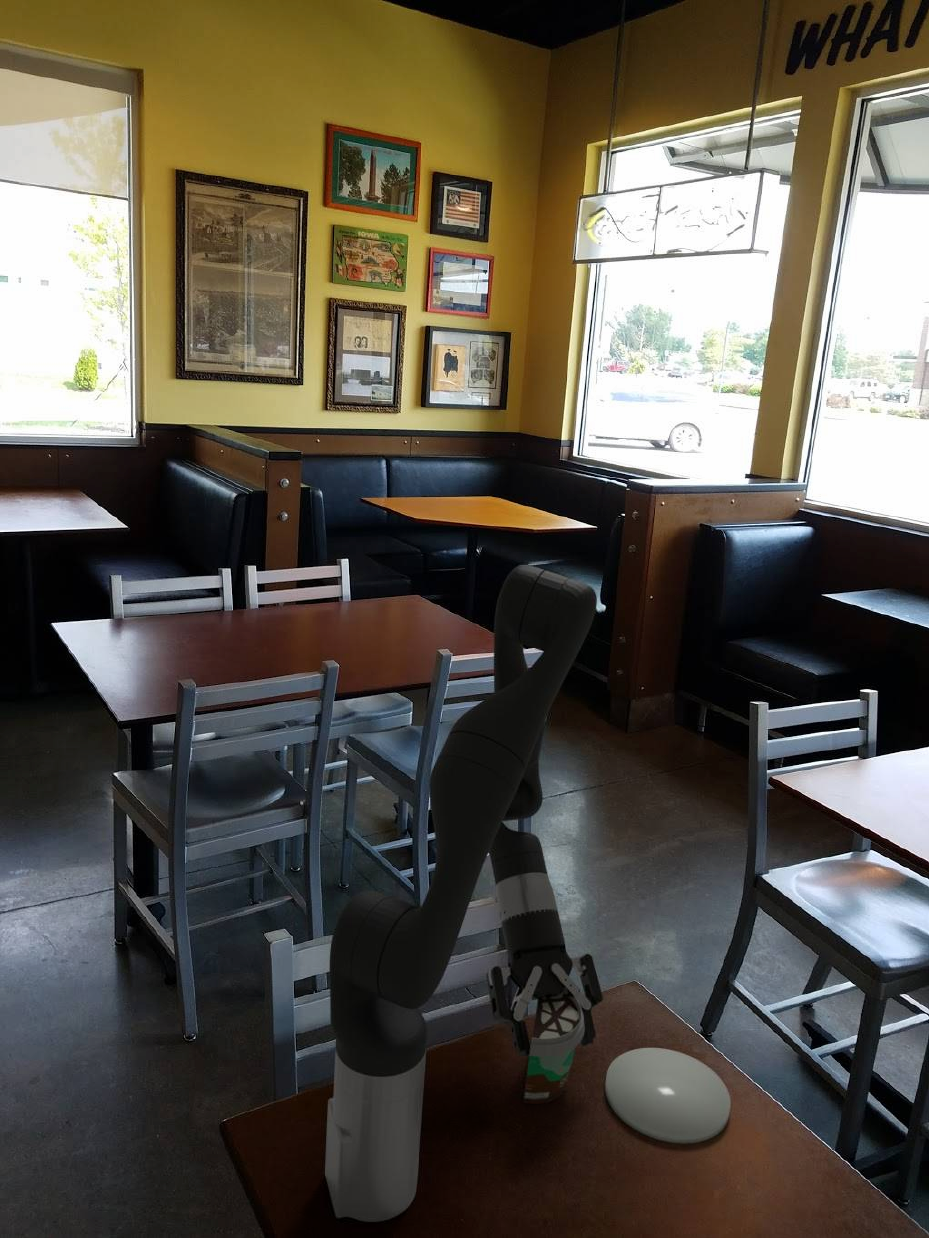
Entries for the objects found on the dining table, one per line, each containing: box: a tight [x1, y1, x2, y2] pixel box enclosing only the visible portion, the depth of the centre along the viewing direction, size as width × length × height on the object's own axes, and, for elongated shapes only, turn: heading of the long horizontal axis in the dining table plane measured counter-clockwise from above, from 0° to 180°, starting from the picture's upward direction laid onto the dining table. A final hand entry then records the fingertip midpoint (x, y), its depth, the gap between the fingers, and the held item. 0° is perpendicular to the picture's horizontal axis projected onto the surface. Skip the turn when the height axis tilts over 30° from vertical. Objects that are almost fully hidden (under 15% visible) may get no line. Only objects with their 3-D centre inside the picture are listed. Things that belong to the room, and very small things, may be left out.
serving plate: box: [604, 1047, 732, 1145], centre depth 119 cm, size 15×15×1 cm
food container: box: [523, 988, 585, 1105], centre depth 119 cm, size 12×6×10 cm, turn 171°
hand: (557, 1050), depth 118 cm, fingers closed on food container, 8 cm apart
